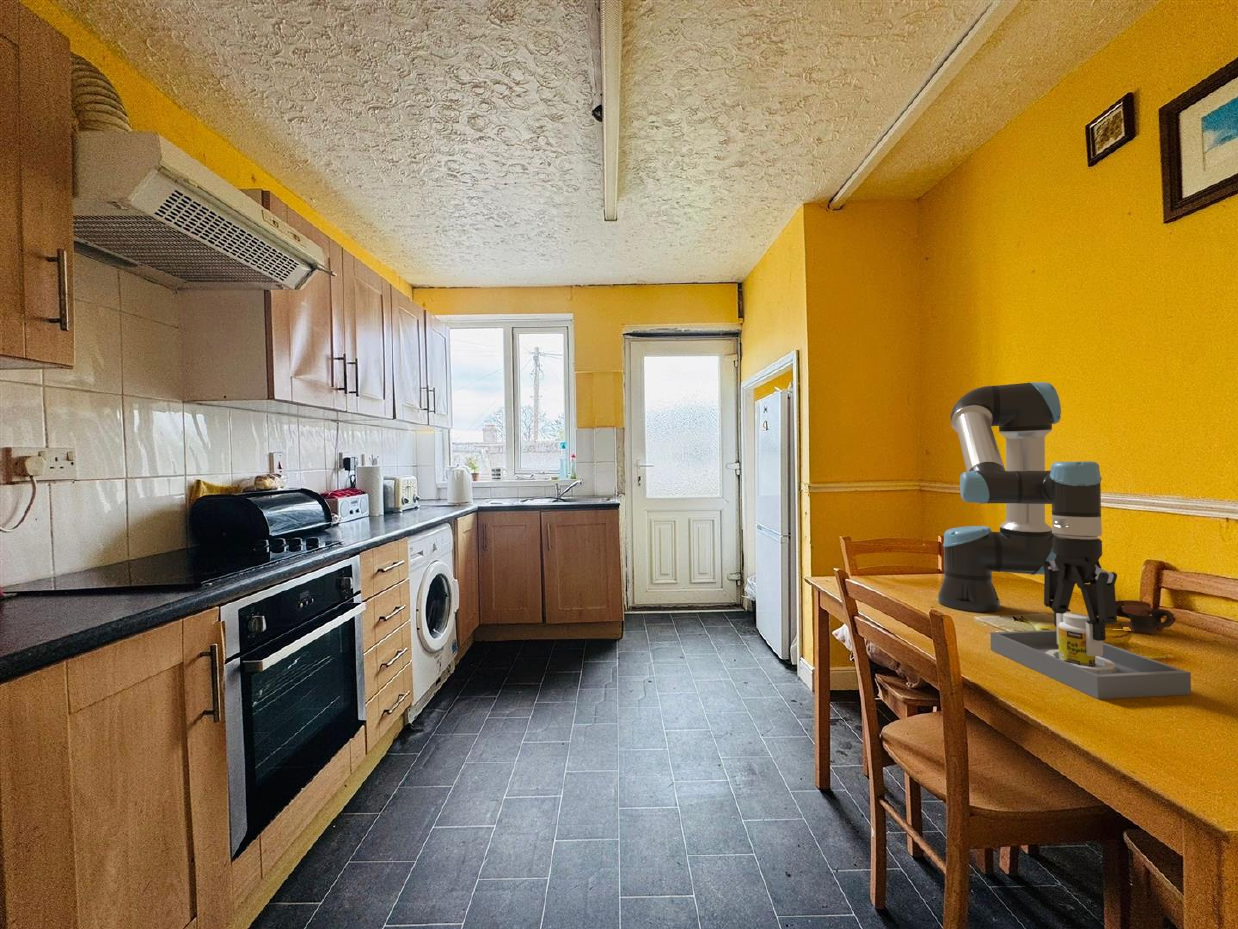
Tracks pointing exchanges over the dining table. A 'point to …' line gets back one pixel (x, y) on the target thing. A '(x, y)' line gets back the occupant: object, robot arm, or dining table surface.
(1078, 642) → the supplement bottle
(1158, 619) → the pottery mug
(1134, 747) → the dining table surface
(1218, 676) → the dining table surface
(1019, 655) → the grey tray
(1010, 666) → the dining table surface
